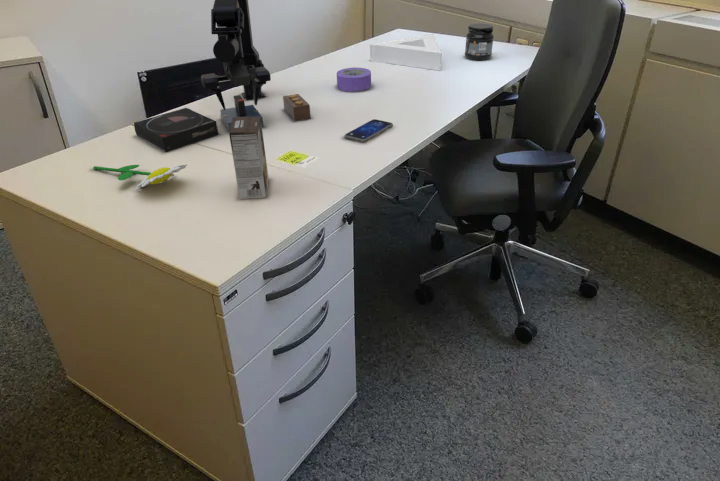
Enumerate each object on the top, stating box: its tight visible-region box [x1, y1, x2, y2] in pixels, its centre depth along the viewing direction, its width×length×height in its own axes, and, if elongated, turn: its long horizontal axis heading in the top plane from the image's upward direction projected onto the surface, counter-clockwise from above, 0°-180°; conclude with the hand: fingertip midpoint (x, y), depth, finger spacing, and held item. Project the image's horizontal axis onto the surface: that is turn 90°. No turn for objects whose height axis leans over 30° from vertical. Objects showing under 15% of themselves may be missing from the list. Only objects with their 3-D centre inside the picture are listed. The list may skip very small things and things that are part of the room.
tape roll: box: [336, 67, 372, 93], centre depth 189 cm, size 12×12×5 cm
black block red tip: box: [233, 94, 246, 117], centre depth 160 cm, size 6×2×5 cm, turn 23°
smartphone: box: [344, 118, 394, 143], centre depth 155 cm, size 7×1×15 cm
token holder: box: [282, 93, 311, 122], centre depth 168 cm, size 11×5×5 cm, turn 23°
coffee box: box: [228, 116, 270, 200], centre depth 124 cm, size 9×6×16 cm
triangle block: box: [369, 33, 442, 72], centre depth 215 cm, size 30×26×6 cm
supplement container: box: [464, 22, 495, 62], centre depth 215 cm, size 10×10×12 cm
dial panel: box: [219, 104, 265, 132], centre depth 163 cm, size 12×10×3 cm
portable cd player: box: [133, 107, 219, 153], centre depth 156 cm, size 16×17×4 cm
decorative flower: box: [93, 164, 188, 192], centre depth 132 cm, size 13×5×30 cm
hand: (240, 107), depth 161 cm, fingers open, 9 cm apart
